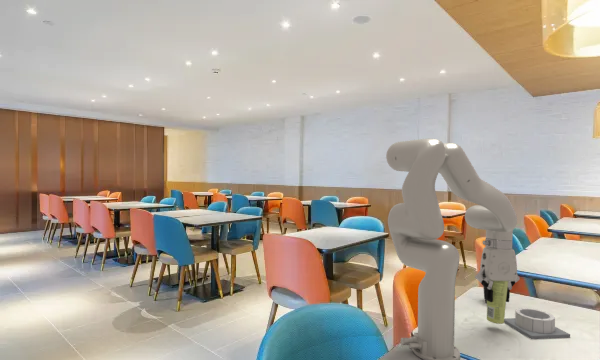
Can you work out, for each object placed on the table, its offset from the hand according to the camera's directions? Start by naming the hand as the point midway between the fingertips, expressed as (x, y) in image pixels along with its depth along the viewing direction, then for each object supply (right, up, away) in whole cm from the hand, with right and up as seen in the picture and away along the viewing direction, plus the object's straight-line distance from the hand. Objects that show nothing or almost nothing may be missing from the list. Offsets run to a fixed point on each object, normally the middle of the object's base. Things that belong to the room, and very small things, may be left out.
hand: (496, 300), depth 112 cm
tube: (0, -7, 0) cm, 7 cm away
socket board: (+13, -10, +1) cm, 16 cm away
